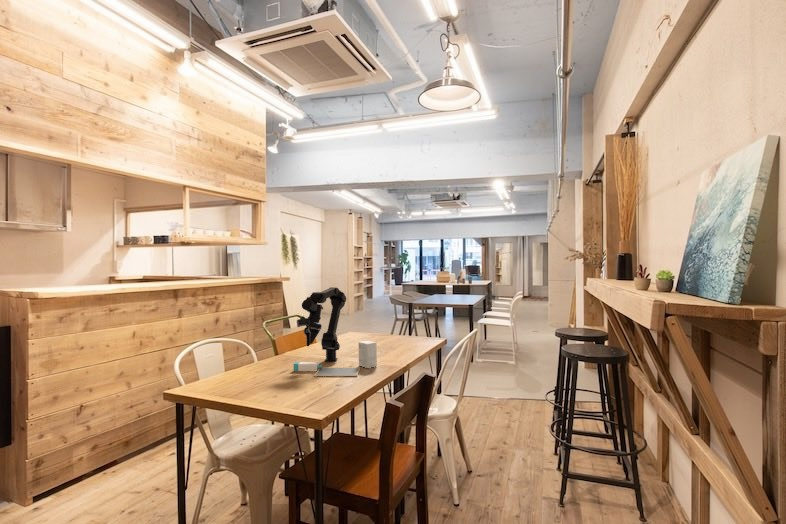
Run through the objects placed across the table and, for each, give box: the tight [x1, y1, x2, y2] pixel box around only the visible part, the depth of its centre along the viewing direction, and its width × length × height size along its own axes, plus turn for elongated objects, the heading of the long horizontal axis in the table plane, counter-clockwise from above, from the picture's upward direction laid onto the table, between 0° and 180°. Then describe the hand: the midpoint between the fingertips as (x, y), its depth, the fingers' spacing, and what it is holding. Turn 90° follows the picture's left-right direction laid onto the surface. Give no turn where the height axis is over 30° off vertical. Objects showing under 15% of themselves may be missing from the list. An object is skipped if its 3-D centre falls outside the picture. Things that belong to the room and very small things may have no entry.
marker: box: [293, 361, 323, 372], centre depth 218 cm, size 4×14×4 cm, turn 88°
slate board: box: [313, 366, 361, 378], centre depth 214 cm, size 15×21×1 cm
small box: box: [358, 340, 378, 369], centre depth 225 cm, size 8×6×13 cm
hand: (309, 345), depth 217 cm, fingers open, 9 cm apart
